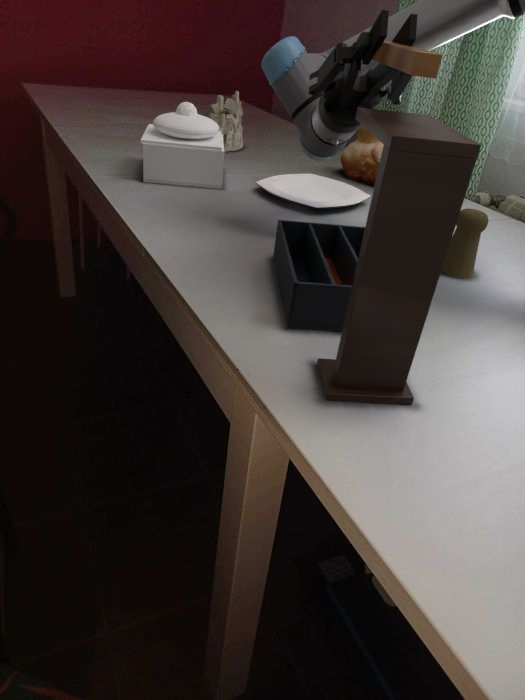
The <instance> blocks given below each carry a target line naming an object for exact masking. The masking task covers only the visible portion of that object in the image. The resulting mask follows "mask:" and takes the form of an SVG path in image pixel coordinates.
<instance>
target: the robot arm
mask: <svg viewBox="0 0 525 700" xmlns="http://www.w3.org/2000/svg"><path fill="white" fill-rule="evenodd" d="M389 15H390V10H387V9H381V11H380V12H379V14H378V16H377V17H376V20H375V21H374V23H373V24H372V26H370V27H368V28H366V29H365V30H362V31H361V32H359V33H357V34H355V35H353V36H351V37H349V38H348V39H346V40H344V41H342V42H338V43H337V44H335V45H334V46H333V47H331V48H329V49H327V50H325V51H323V52H317V53H316V52H315V53H314V52H313V53H311V52H310V53H308V52H307V50H306V46H304V45H303V44H302V43H301V41H300V39H299V38H298V37H297V36H294V35H290V36H286V37H285V38H282V39H281V40H279V41H277V42H276V43H275V44H274V45H273V46H271V47H270V48H269V50H267V51H266V53H265V54H264V56H263V58H262V60H261V63H260V64H261V65H260V67H261V69H262V71H263V74H264V75H265V77H266V79H267V81H268V84H269V86H271V88H272V89H273V91H274V92H275V94H276V95H277V97H278V99H279V100H280V102H281V104H282V105H283V107H284V109H285V110H286V111H287V113H288V114H289V116H290V117H291V119H292V120H293V121H292V122H293V123H294V125H295V127H296V128H297V130H298V132H299V135H300V137H299V143H300V147H301V150H302V152H303V154H305V156H306V157H308V159H310V160H312V161H316V162H327V161H329V160H331V159H333V158H334V157H335V156H336V155H338V153H340V152H341V151H343V149H345V147H346V144H347V143H348V142H349V141H350V139H351V138H352V137H353V136H354V135H355V133H356V132H358V131H359V127H360V126H361V124H360V123H359V122H358V121H357V120H356V119H355V118H356V113H357V108H358V107H360V108H369V109H374V108H375V107H376V106H378V105H380V104H381V103H382V101H387V102H391V105H394V106H399V105H401V102H402V94H403V93H404V91H405V90H406V88H407V86H408V84H409V82H410V81H411V80H412V78H413V76H412V75H410V74H407V73H405V72H402V71H400V70H397V69H395V68H392V67H390V66H387V65H385V64H382V63H380V62H377V61H375V60H372V58H373V57H374V55H375V54H376V52H377V51H378V49H379V48H380V46H381V45H382V43H383V42H384V40H387V41H391V42H395V43H399V44H403V45H407V46H411V47H415V48H419V49H423V50H427V51H433V50H435V49H436V48H438V47H441V46H443V45H445V44H448V43H449V42H452V41H454V40H456V39H458V38H460V37H462V36H464V35H466V34H469V33H470V32H473V31H475V30H477V29H479V28H481V27H483V26H486V25H488V24H490V23H492V22H494V21H497V20H498V19H500V18H502V17H506V18H509V19H511V20H515V19H517V18H519V17H521V16H523V15H525V0H419V1H415V3H412V4H410V5H409V6H407V7H405V8H403V9H401V10H399V11H398V12H396V13H394V14H392V15H390V16H389ZM387 84H388V85H387ZM386 85H387V87H386V88H385V89H384V90H383V88H384V87H385V86H386Z"/></svg>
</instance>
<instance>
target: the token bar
mask: <svg viewBox="0 0 525 700" xmlns="http://www.w3.org/2000/svg"><path fill="white" fill-rule="evenodd" d="M443 56H444V55H443V54H441V53H439V52H435V51H432V50H430V51H427V50H423V49H419V48H415V47H411V46H407V45H403V44H399V43H395V42H391V41H387V40H384V42H383V43H382V45H381V46H380V48H379V49H378V51H377V52H376V54H375V55H374V57H373V58H372V60H375V61H377V62H380V63H382V64H385V65H387V66H390V67H392V68H395V69H397V70H400V71H402V72H405V73H407V74H410V75H412V77H413V76H414V77H421V78H430V79H437V78H438V75H439V71H440V66H441V63H442V60H443Z"/></svg>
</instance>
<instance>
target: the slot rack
mask: <svg viewBox="0 0 525 700" xmlns="http://www.w3.org/2000/svg"><path fill="white" fill-rule="evenodd" d="M276 224H277V225H276V232H275V240H274V245H273V246H274V247H273V255H272V260H273V264H274V270H275V275H276V280H277V285H278V289H279V294H280V295H279V296H280V299H281V305H282V310H283V314H284V320H285V325H286V328H287V329H293V330H311V331H322V332H323V331H325V332H338V333H339V332H340V333H342V329H343V325H344V320H345V316H346V311H347V307H348V302H349V298H350V293H351V289H352V285H353V280H354V276H355V271H356V267H357V262H358V258H359V253H360V249H361V244H362V240H363V235H364V231H365V226H357V225H347V224H346V225H345V224H333V223H320V222H309V221H297V220H289V219H288V220H287V219H277V223H276Z"/></svg>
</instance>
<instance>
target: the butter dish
mask: <svg viewBox="0 0 525 700" xmlns="http://www.w3.org/2000/svg"><path fill="white" fill-rule="evenodd" d="M140 145H142V156H143V157H142V158H143V159H142V162H143V163H142V164H143V165H142V168H143V169H142V172H143V173H142V174H143V175H142V177H143V181H142V183H151V184H161V185H173V186H174V185H175V186H186V187H198V188H207V189H218V190H219V189H220V190H223V181H224V166H225V153H226V151H224V143H223V134H221V131H219V126H218V124H217V123H216V122H214V121H213V120H212V119H210V118H208V117H205V116H203V114H199V113H198V110H197V108H196V106H195V105H194V103H192V102H189V101H183V102H180V103H179V104H178V105H177V107H176V109H175V111H172V112H166V113H162V114H160V115H157V116H156V117H155V118H154V119H153V121H152V123H148V125H147V126H146V128H145V130H144V132H143V134H142V136H141V138H140Z"/></svg>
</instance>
